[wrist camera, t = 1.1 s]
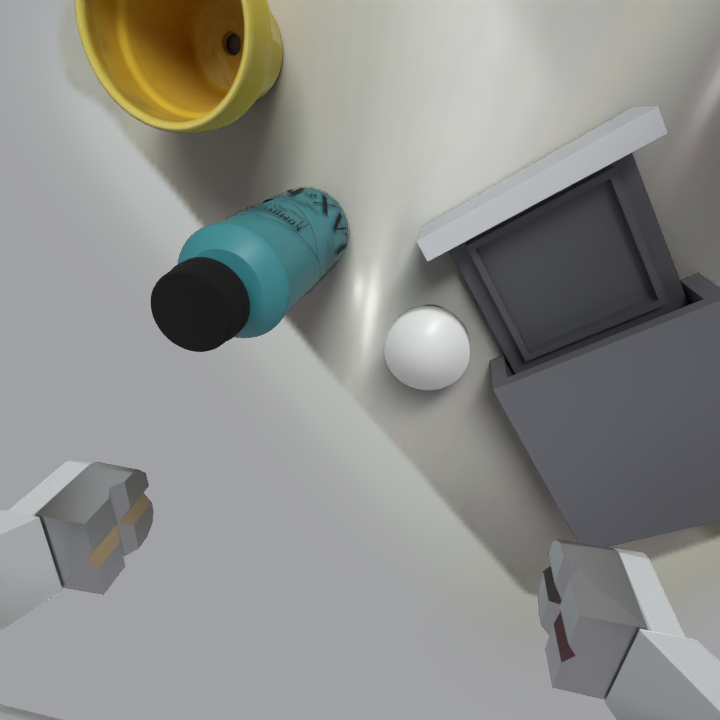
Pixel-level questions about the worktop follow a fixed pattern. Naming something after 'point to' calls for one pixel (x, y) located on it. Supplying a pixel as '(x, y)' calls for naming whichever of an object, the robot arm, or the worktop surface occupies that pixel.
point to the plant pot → (181, 58)
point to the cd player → (628, 424)
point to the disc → (427, 348)
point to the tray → (565, 246)
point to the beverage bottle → (249, 269)
